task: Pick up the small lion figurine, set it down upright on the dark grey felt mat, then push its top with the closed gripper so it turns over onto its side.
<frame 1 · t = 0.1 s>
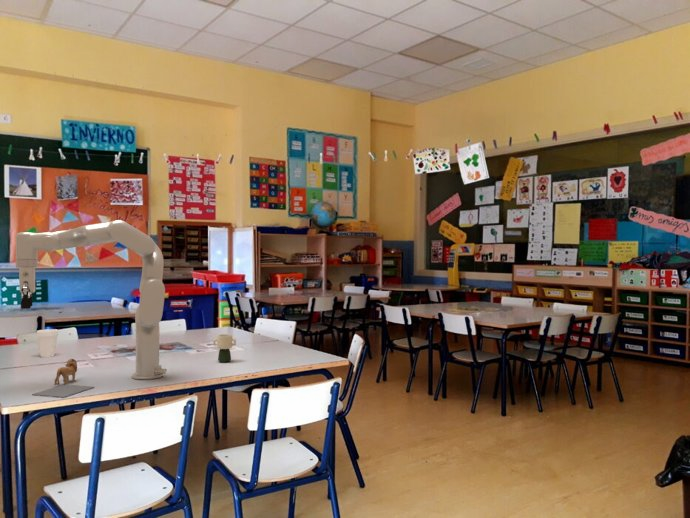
hand: (26, 307, 221), 31 cm above the table, tool pointing down, fingers open, 9 cm apart
foam cup: (47, 356, 285), on the table
felt mat: (64, 391, 214), on the table
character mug: (224, 362, 273), on the table
lion figurine: (65, 383, 227), on the table, touching felt mat
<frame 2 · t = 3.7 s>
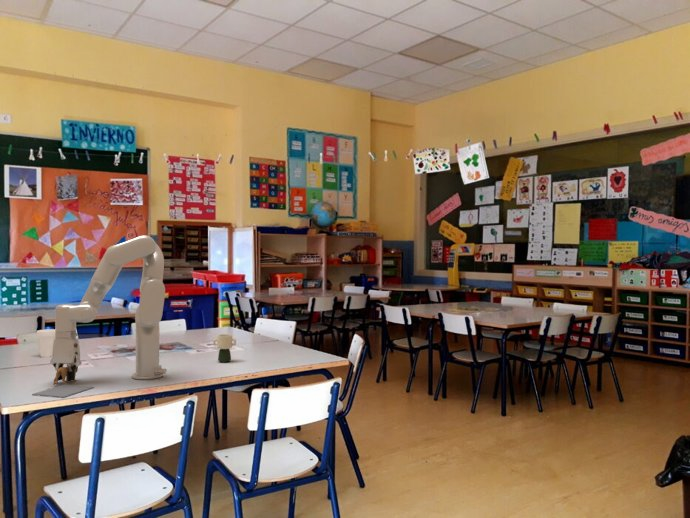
hand: (65, 379, 227), 1 cm above the table, tool pointing down, fingers closed on lion figurine, 4 cm apart
lion figurine: (65, 383, 227), on the table, touching felt mat, gripper
everything else where it was.
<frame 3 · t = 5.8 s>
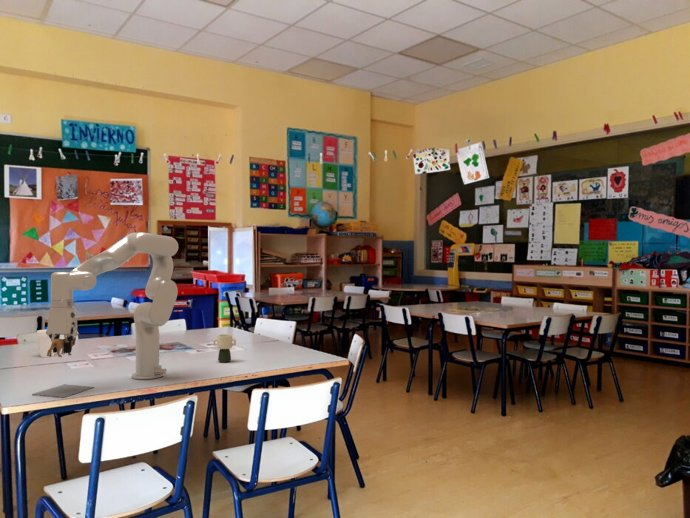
hand: (62, 351, 214), 15 cm above the table, tool pointing down, fingers closed on lion figurine, 4 cm apart
lion figurine: (60, 355, 214), point 13 cm above the table, touching gripper
everything else where it was.
when the fingers open (3 cm above the table, at t = 8.3 s): lion figurine stays where it is, resting on felt mat.
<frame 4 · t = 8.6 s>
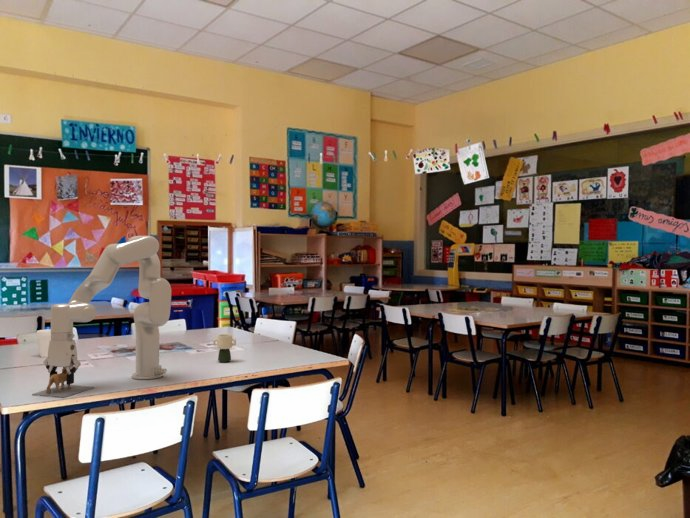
hand: (61, 382, 214), 3 cm above the table, tool pointing down, fingers open, 7 cm apart
lion figurine: (60, 390, 215), resting on felt mat
everything else where it was.
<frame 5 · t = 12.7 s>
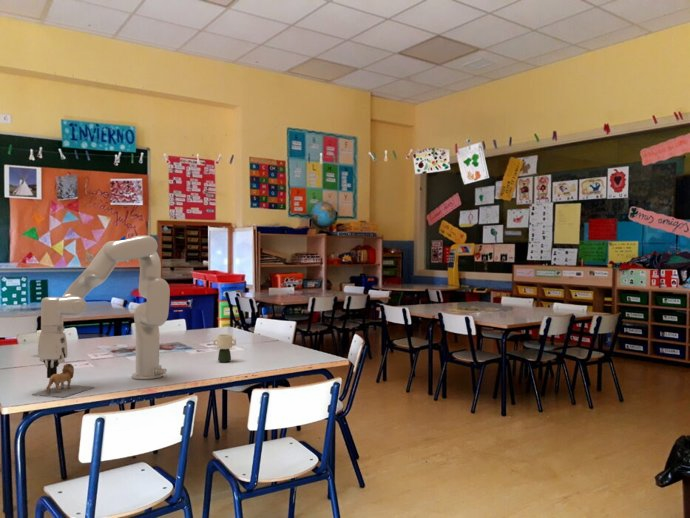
hand: (51, 377, 215), 5 cm above the table, tool pointing down, fingers closed
lion figurine: (59, 390, 214), resting on felt mat, touching gripper
everything else where it was.
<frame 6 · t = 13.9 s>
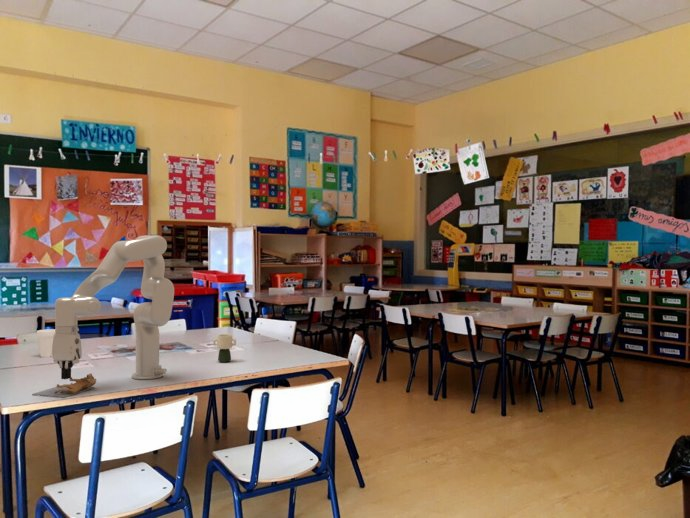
hand: (66, 378, 213), 5 cm above the table, tool pointing down, fingers closed
lion figurine: (65, 382, 213), point 3 cm above the table, touching felt mat, gripper
everything else where it was.
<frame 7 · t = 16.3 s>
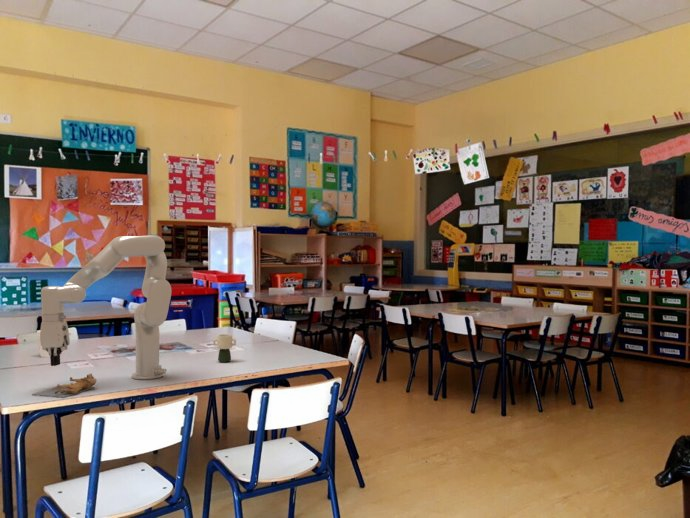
hand: (55, 365, 218), 9 cm above the table, tool pointing down, fingers closed
lion figurine: (65, 382, 213), point 3 cm above the table, touching felt mat
everything else where it was.
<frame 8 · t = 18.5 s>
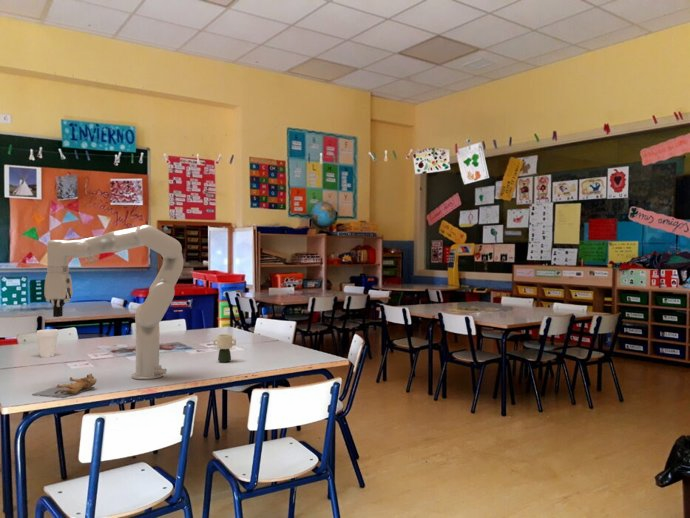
hand: (57, 316, 225), 27 cm above the table, tool pointing down, fingers closed
nothing on the table moved.
at the end: lion figurine tilted 98°; lion figurine 1.1 cm from the felt mat (horizontally); the gripper is holding nothing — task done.
